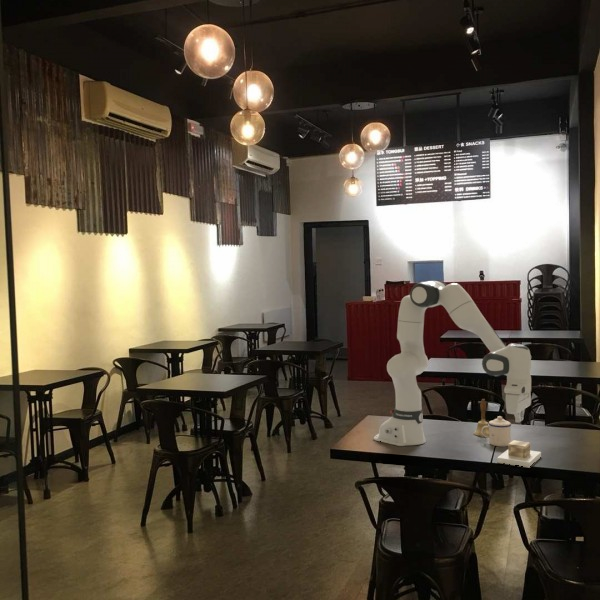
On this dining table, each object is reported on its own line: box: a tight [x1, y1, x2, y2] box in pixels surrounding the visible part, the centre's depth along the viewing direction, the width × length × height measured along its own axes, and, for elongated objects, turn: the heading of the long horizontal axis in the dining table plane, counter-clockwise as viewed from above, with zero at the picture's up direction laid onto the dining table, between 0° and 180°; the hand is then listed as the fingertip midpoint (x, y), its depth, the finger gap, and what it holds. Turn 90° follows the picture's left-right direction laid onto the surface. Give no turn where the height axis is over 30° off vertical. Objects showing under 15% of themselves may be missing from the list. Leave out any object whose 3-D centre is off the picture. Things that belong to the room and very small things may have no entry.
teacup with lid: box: [482, 415, 512, 447], centre depth 265 cm, size 12×9×12 cm
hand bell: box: [473, 398, 489, 437], centre depth 281 cm, size 8×8×16 cm
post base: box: [496, 449, 542, 469], centre depth 242 cm, size 12×16×5 cm
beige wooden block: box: [507, 439, 531, 458], centre depth 242 cm, size 6×6×4 cm
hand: (519, 421), depth 242 cm, fingers closed
